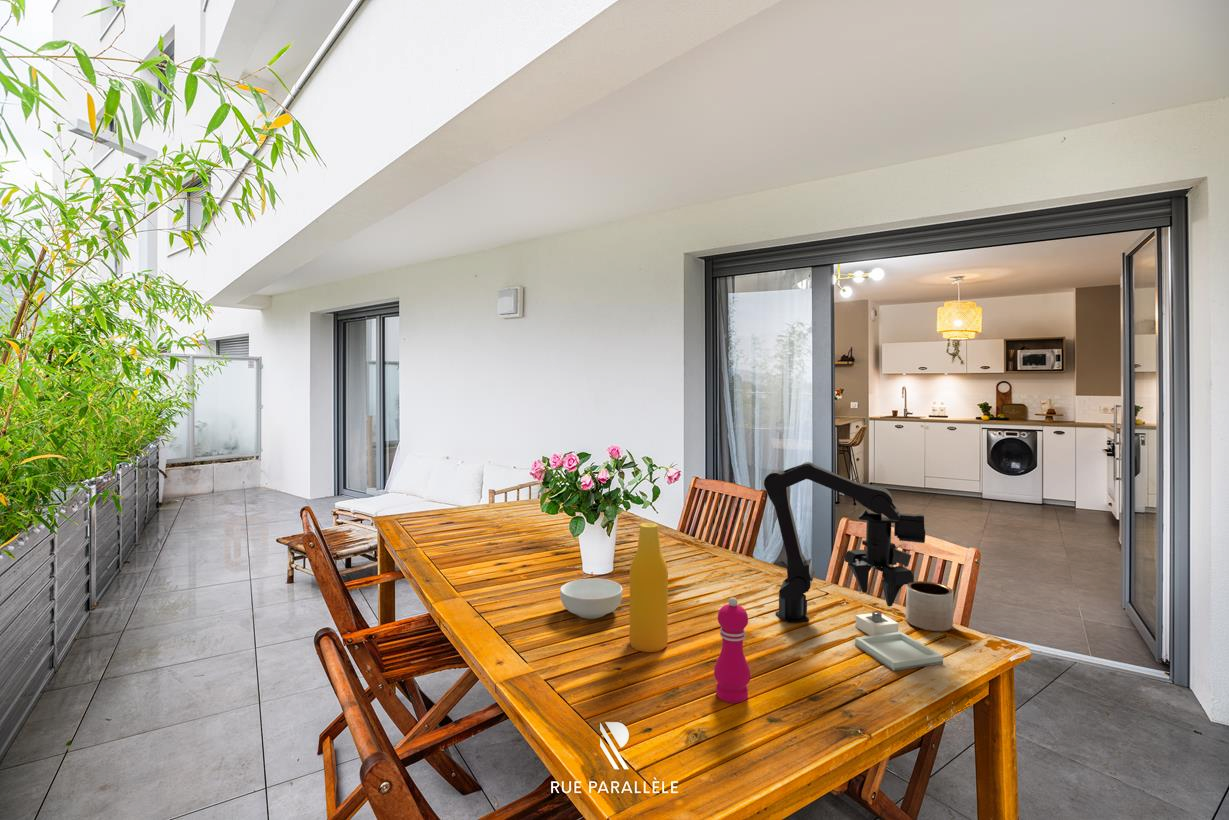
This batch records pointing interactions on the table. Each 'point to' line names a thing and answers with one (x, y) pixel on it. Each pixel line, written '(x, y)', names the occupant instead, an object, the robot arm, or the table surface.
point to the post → (876, 617)
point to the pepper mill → (732, 654)
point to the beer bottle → (648, 593)
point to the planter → (929, 606)
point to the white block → (876, 625)
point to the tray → (898, 651)
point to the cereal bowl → (591, 597)
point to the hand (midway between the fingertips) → (876, 599)
